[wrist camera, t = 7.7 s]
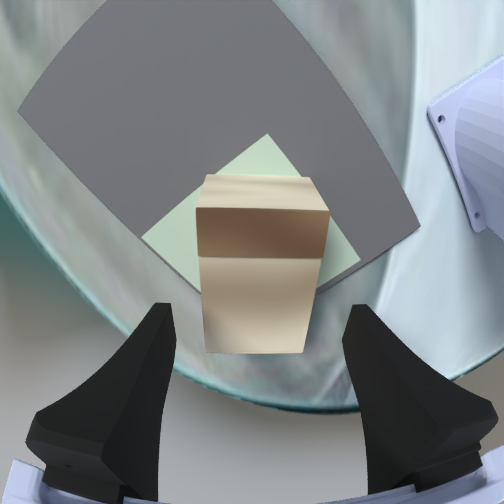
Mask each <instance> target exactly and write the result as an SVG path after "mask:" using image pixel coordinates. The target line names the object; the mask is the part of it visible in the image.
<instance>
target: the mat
mask: <svg viewBox="0 0 504 504" xmlns="http://www.w3.org/2000/svg"><path fill="white" fill-rule="evenodd" d="M17 112H18V113H19V114H20V115H21V116H22V117H23V119H24V120H25V121H26V122H27V123H28V124H29V125H30V127H31V128H32V129H33V130H34V131H35V132H36V133H37V134H38V136H39V137H40V138H41V139H42V140H43V141H44V142H45V143H46V144H47V146H48V147H49V148H50V149H51V150H52V151H53V152H54V153H55V154H56V155H57V156H58V157H59V159H60V160H61V161H62V162H63V163H64V164H65V165H66V166H67V167H68V168H69V169H70V170H71V171H72V172H73V173H74V174H75V175H76V177H77V178H78V179H79V180H80V181H81V182H82V183H83V184H84V185H85V186H86V187H87V188H88V189H89V190H90V191H91V192H92V193H93V194H94V195H95V196H96V197H97V198H98V199H99V200H100V201H101V202H102V203H103V204H104V205H105V206H106V207H107V208H108V209H109V210H110V211H111V212H112V213H113V214H114V215H115V216H116V217H117V218H118V219H119V220H120V221H121V222H122V223H123V224H124V225H125V226H126V227H127V228H128V229H129V230H130V231H131V232H132V233H133V234H135V235H136V236H137V237H138V238H139V239H140V240H141V241H142V242H143V243H144V244H145V245H146V246H147V247H148V248H149V249H150V250H151V251H153V252H154V253H155V254H156V255H157V256H158V257H159V258H160V259H161V260H162V261H163V262H164V263H165V264H167V265H168V266H169V267H170V268H171V269H172V270H173V271H174V272H175V273H176V274H178V275H179V276H180V277H181V278H182V279H183V280H184V281H185V282H186V283H188V284H189V285H190V286H191V287H192V288H193V289H194V290H195V291H197V292H198V293H199V294H200V295H201V287H200V272H199V256H198V250H197V231H196V206H197V203H198V200H199V197H200V193H201V190H202V187H203V184H204V181H205V178H206V175H207V174H235V175H272V176H295V177H310V179H311V181H312V182H313V184H314V186H315V187H316V189H317V191H318V192H319V194H320V196H321V197H322V199H323V201H324V202H325V204H326V206H327V208H328V209H329V211H330V220H329V226H328V232H327V238H326V244H325V250H324V255H323V258H321V264H320V269H319V275H318V280H317V285H316V291H315V296H316V295H318V294H319V293H321V292H322V291H324V290H326V289H327V288H329V287H330V286H332V285H334V284H335V283H337V282H338V281H340V280H341V279H343V278H345V277H346V276H348V275H349V274H351V273H352V272H354V271H355V270H357V269H359V268H360V267H362V266H363V265H365V264H366V263H368V262H369V261H371V260H372V259H374V258H375V257H377V256H378V255H380V254H381V253H383V252H384V251H386V250H387V249H389V248H390V247H392V246H393V245H394V244H396V243H397V242H399V241H400V240H402V239H403V238H405V237H406V236H408V235H409V234H410V233H412V232H413V231H415V230H416V229H417V228H419V227H420V226H421V225H420V223H419V221H418V219H417V217H416V215H415V213H414V210H413V208H412V206H411V204H410V202H409V200H408V198H407V196H406V194H405V192H404V190H403V188H402V187H401V185H400V183H399V181H398V179H397V177H396V175H395V173H394V171H393V170H392V168H391V166H390V164H389V162H388V161H387V159H386V157H385V155H384V154H383V152H382V150H381V148H380V147H379V145H378V143H377V142H376V140H375V138H374V137H373V135H372V133H371V132H370V130H369V128H368V127H367V125H366V124H365V122H364V120H363V119H362V117H361V116H360V114H359V113H358V111H357V109H356V108H355V106H354V105H353V103H352V102H351V100H350V99H349V97H348V96H347V94H346V93H345V92H344V90H343V89H342V87H341V86H340V84H339V83H338V82H337V80H336V79H335V77H334V76H333V75H332V73H331V72H330V70H329V69H328V68H327V66H326V65H325V64H324V62H323V61H322V60H321V58H320V57H319V56H318V54H317V53H316V52H315V51H314V49H313V48H312V47H311V46H310V44H309V43H308V42H307V41H306V39H305V38H304V37H303V36H302V34H301V33H300V32H299V31H298V30H297V28H296V27H295V26H294V25H293V24H292V22H291V21H290V20H289V19H288V18H287V17H286V16H285V14H284V13H283V12H282V11H281V10H280V9H279V8H278V7H277V5H276V4H275V3H274V2H273V1H272V0H107V1H106V2H105V3H104V4H103V5H102V6H101V7H100V8H99V9H98V10H97V11H96V12H95V13H94V14H93V15H92V16H91V17H90V18H89V19H88V20H87V21H86V22H85V23H84V24H83V25H82V26H81V28H80V29H79V30H78V31H77V32H76V33H75V34H74V35H73V36H72V38H71V39H70V40H69V41H68V42H67V43H66V45H65V46H64V47H63V48H62V49H61V51H60V52H59V53H58V54H57V56H56V57H55V58H54V59H53V61H52V62H51V63H50V64H49V66H48V67H47V68H46V70H45V71H44V72H43V74H42V75H41V76H40V78H39V79H38V81H37V82H36V83H35V85H34V86H33V88H32V89H31V90H30V92H29V93H28V95H27V96H26V98H25V99H24V101H23V102H22V104H21V106H20V107H19V109H18V110H17Z"/></svg>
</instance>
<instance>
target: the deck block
mask: <svg viewBox="0 0 504 504" xmlns="http://www.w3.org/2000/svg"><path fill="white" fill-rule="evenodd" d="M329 220H330V211H329V209H328V208H327V206H326V204H325V202H324V201H323V199H322V197H321V196H320V194H319V192H318V191H317V189H316V187H315V186H314V184H313V182H312V181H311V179H310V177H295V176H272V175H235V174H207V175H206V178H205V181H204V184H203V187H202V190H201V193H200V197H199V200H198V203H197V206H196V231H197V250H198V256H199V272H200V287H201V300H202V313H203V326H204V337H205V348H206V353H238V354H269V353H303V348H304V344H305V339H306V335H307V330H308V325H309V320H310V316H311V311H312V306H313V301H314V296H315V291H316V285H317V280H318V275H319V269H320V264H321V258H323V255H324V250H325V244H326V238H327V232H328V226H329Z"/></svg>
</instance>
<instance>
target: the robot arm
mask: <svg viewBox="0 0 504 504" xmlns="http://www.w3.org/2000/svg"><path fill="white" fill-rule="evenodd" d="M427 113H428V116H429V118H430V120H431V122H432V124H433V126H434V128H435V130H436V133H437V135H438V137H439V139H440V141H441V144H442V146H443V148H444V151H445V153H446V155H447V158H448V160H449V163H450V165H451V168H452V170H453V173H454V175H455V178H456V180H457V183H458V186H459V189H460V191H461V194H462V197H463V200H464V203H465V206H466V209H467V212H468V215H469V218H470V222H471V225H472V228H473V230H474V231H475V232H477V233H480V232H481V231H483V230H484V229H485V228H486V227H489V228H490V229H491V230H492V231H493V232H494V233H495V234H496V235H498V236H499V237H500V238H501V239H502V240H503V241H504V55H503V56H502V57H500V58H498V59H497V60H495V61H494V62H492V63H491V64H489V65H488V66H486V67H484V68H483V69H481V70H480V71H478V72H477V73H475V74H474V75H472V76H471V77H469V78H468V79H466V80H465V81H463V82H461V83H460V84H458V85H457V86H455V87H454V88H452V89H451V90H449V91H448V92H446V93H445V94H443V95H442V96H440V97H439V98H437V99H436V100H434V101H433V102H431V103H430V104H429V105H428V108H427ZM440 115H441V118H442V119H441V122H440V123H439V122H438V117H439V116H440ZM476 212H477V213H476ZM475 213H476V215H475ZM474 215H475V216H474ZM176 340H177V339H176V333H175V327H174V321H173V315H172V309H171V303H155V304H154V305H153V306H152V307H151V309H150V310H149V312H148V313H147V314H146V316H145V317H144V318H143V320H142V321H141V322H140V324H139V325H138V326H137V328H136V329H135V330H134V331H133V333H132V334H131V335H130V336H129V338H128V339H127V340H126V341H125V343H124V344H123V345H122V346H121V347H120V349H118V350H117V352H116V353H115V354H114V355H113V356H112V357H111V358H110V359H109V360H108V361H107V362H106V363H105V364H104V365H103V366H102V367H101V368H100V369H99V370H98V371H97V372H96V373H95V374H93V375H92V376H91V377H90V378H89V379H87V380H86V381H85V382H84V383H83V384H81V385H80V386H79V387H77V388H76V389H75V390H73V391H72V392H70V393H69V394H67V395H66V396H64V397H63V398H61V399H60V400H58V401H56V402H55V403H53V404H51V405H49V406H47V407H46V408H44V409H42V410H40V411H38V412H37V413H36V414H35V417H34V419H33V421H32V424H31V427H30V430H29V433H28V435H27V438H26V441H25V443H26V445H27V447H28V448H29V449H30V450H31V451H32V452H33V453H34V454H35V455H36V456H37V457H38V458H40V459H41V460H42V461H43V462H44V463H45V464H46V469H45V471H44V470H42V469H40V468H38V467H36V466H33V465H31V464H28V463H25V462H23V461H21V460H18V459H14V461H13V464H12V467H11V470H10V473H9V477H8V480H7V484H6V487H5V491H4V495H3V499H2V503H1V504H167V503H160V502H158V461H159V444H160V432H161V421H162V414H163V408H164V403H165V399H166V394H167V390H168V386H169V381H170V377H171V373H172V368H173V364H174V358H175V349H176ZM342 343H343V349H344V355H345V361H346V364H347V368H348V371H349V374H350V377H351V381H352V384H353V387H354V390H355V394H356V397H357V400H358V404H359V408H360V412H361V417H362V423H363V430H364V436H365V446H366V456H367V472H368V495H367V496H362V497H357V498H351V499H346V500H340V501H333V502H327V503H318V504H498V503H500V502H502V501H503V500H504V445H501V446H499V447H497V448H495V449H492V450H490V451H488V452H486V453H484V454H483V455H481V456H480V455H479V453H478V451H479V450H480V449H481V445H480V442H479V441H480V440H481V439H482V438H483V437H484V436H485V435H487V434H488V433H489V432H490V431H491V430H492V429H493V428H494V427H495V425H496V424H497V422H498V416H497V414H496V411H495V409H494V407H493V405H492V403H491V401H489V400H487V399H484V398H482V397H480V396H477V395H475V394H473V393H471V392H469V391H467V390H465V389H464V388H462V387H460V386H458V385H457V384H455V383H453V382H452V381H450V380H448V379H447V378H446V377H444V376H443V375H441V374H440V373H438V372H437V371H435V370H434V369H433V368H431V367H430V366H429V365H428V364H426V363H425V362H424V361H423V360H421V359H420V358H419V357H418V356H417V355H416V354H415V353H413V352H412V351H411V350H410V349H409V348H408V347H407V346H406V345H405V344H404V343H403V342H402V341H401V340H400V339H399V338H398V337H397V336H396V335H395V334H394V333H393V332H392V331H391V330H390V329H389V328H388V327H387V326H386V325H385V323H384V322H383V321H382V320H381V319H380V318H379V317H378V316H377V315H376V314H375V313H374V312H373V311H372V309H371V308H370V307H369V306H368V305H367V304H359V305H352V309H351V312H350V315H349V319H348V322H347V325H346V328H345V332H344V335H343V338H342Z"/></svg>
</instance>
